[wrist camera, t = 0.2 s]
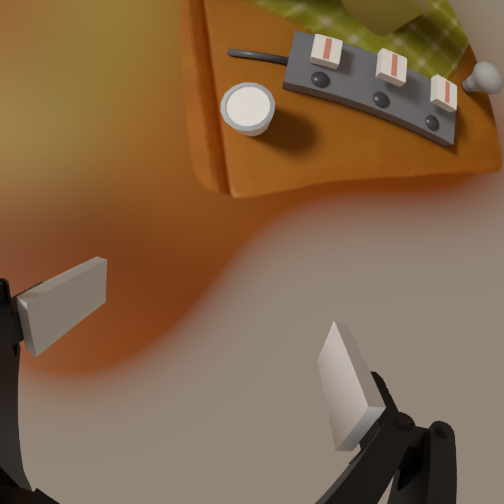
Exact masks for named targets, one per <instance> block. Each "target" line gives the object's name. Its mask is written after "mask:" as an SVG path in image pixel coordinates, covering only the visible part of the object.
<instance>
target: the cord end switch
mask: <svg viewBox="0 0 504 504" xmlns="http://www.w3.org/2000/svg"><path fill="white" fill-rule="evenodd" d="M342 42H343V41H341V40H338V39H334V38H331V37H327V36H323V35H320V34H315V38H314V42H313V47H312V52H311V57H310V63H314V64H317V65H321V66H325V67H328V68H332V69H335V70H336V69H337V67H338V65H339V62H340V55H341V49H342Z"/></svg>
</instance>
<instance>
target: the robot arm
mask: <svg viewBox="0 0 504 504" xmlns="http://www.w3.org/2000/svg"><path fill="white" fill-rule="evenodd" d="M106 270H107V260H106V259H103V258H100V257H95V258H93V259H91V260H89V261H86V262H84V263H82V264H80V265H78V266H76V267H74V268H72V269H70V270H68V271H66V272H63V273H61V274H59V275H57V276H55V277H53V278H51V279H49V280H47V281H45V282H41V283H39V284H37V285H35V286H33V287H31V288H29V289H28V290H25V291H23V292H21V293H19V294H17V295H15V296H13V297H12V298H11V296H10V289H9V282H8V281H7V280H6V279H3V278H0V504H59V503H58V502H56V501H55V500H53V499H52V498H50V497H49V496H47V495H46V494H45V493H43V492H42V491H40V490H39V489H38V488H36V490H35V491H34V492H33V491H32V489H31V486H30V484H29V482H28V480H27V478H26V476H25V473H24V470H23V465H22V458H21V450H20V441H19V428H18V373H19V360H20V350H21V348H20V344H19V342H21V341H22V340H24V342H25V347H26V350H27V351H29V352H31V353H32V354H33V355H35V356H36V357H37V356H38V355H39V354H41V353H42V352H43V351H44V350H45V349H47V348H48V347H49V346H50V345H51V344H53V343H54V342H55V341H56V340H58V339H59V338H60V337H61V336H63V335H64V334H65V333H66V332H67V331H69V330H70V329H71V328H72V327H74V326H75V325H76V324H77V323H79V322H80V321H81V320H83V319H84V318H85V317H86V316H88V315H89V314H90V313H92V312H93V311H94V310H95V309H97V308H98V307H99V306H101V305H102V304H103V303H105V298H106V296H105V295H106ZM317 362H318V367H319V371H320V376H321V380H322V385H323V389H324V394H325V399H326V404H327V409H328V414H329V419H330V424H331V429H332V434H333V440H334V444H335V450H336V451H353V449H354V448H355V447H356V446H357V445H358V443H359V444H360V447H361V450H360V452H359V453H358V454H357V455H356V456H355V457H354V458H353V460H351V462H350V463H349V466H348V467H347V468H346V470H345V471H344V472H343V473H342V474H341V476H340V477H339V478H338V479H337V480H336V481H335V483H334V484H333V485H332V486H331V487H330V488H329V490H327V492H326V493H325V494H324V495H323V496H322V497H321V498H320V499H319V500H318V501H317V502H316V503H315V504H377V503H378V502H379V500H380V498H381V497H382V495H383V493H384V492H385V490H386V488H387V487H388V485H389V483H390V481H391V479H392V478H393V476H394V478H393V483H392V487H391V491H390V495H389V499H388V503H387V504H456V493H457V490H456V489H457V466H456V447H455V436H454V435H455V434H454V431H453V429H452V428H451V426H450V425H448V424H447V423H445V422H442V421H435V422H433V423H432V425H431V426H430V427H429V428H428V429H427V428H422V427H418V426H416V425H415V423H414V421H413V419H412V418H411V417H410V416H408V415H407V414H405V413H402V412H398V409H397V407H396V405H395V403H394V401H393V399H392V397H391V395H390V394H389V391H388V388H386V384H385V382H384V381H383V379H382V378H381V377H380V376H379V375H378V374H377V373H376V372H371V371H370V370H369V368H368V366H367V364H366V362H365V360H364V358H363V355H362V353H361V351H360V349H359V347H358V345H357V343H356V341H355V339H354V337H353V335H352V333H351V331H350V329H349V327H348V325H347V323H343V322H338V321H334V323H333V325H332V327H331V330H330V332H329V335H328V337H327V339H326V342H325V344H324V346H323V349H322V351H321V353H320V356H319V358H318V360H317Z"/></svg>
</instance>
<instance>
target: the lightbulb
mask: <svg viewBox="0 0 504 504" xmlns="http://www.w3.org/2000/svg"><path fill="white" fill-rule="evenodd" d="M462 86H463V88H464V90H465V91H466V92H468V93H470V92H478V91H483V92H485V93H488V94H497V93H499V92H500V91H501V89H502V86H503V79H502V76H501V74H500V72H499V70H498V69H497V68H496V67H495V66H494V65H492V64H491V63H489V62H483V61H482V62H479V63H477V64H476V65H475V67H474V69H473V73H472V74H471V75H470V76H469V77H468V78H467V79H466V80H464V81H463V82H462Z"/></svg>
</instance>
